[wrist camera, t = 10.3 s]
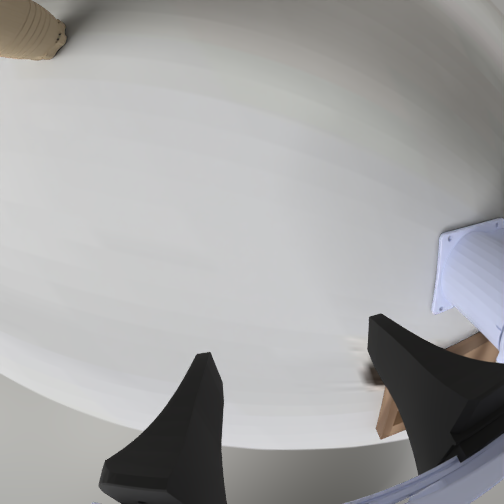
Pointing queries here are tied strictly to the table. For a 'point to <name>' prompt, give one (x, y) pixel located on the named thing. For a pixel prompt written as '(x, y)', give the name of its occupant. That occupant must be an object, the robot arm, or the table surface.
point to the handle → (29, 31)
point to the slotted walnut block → (469, 348)
